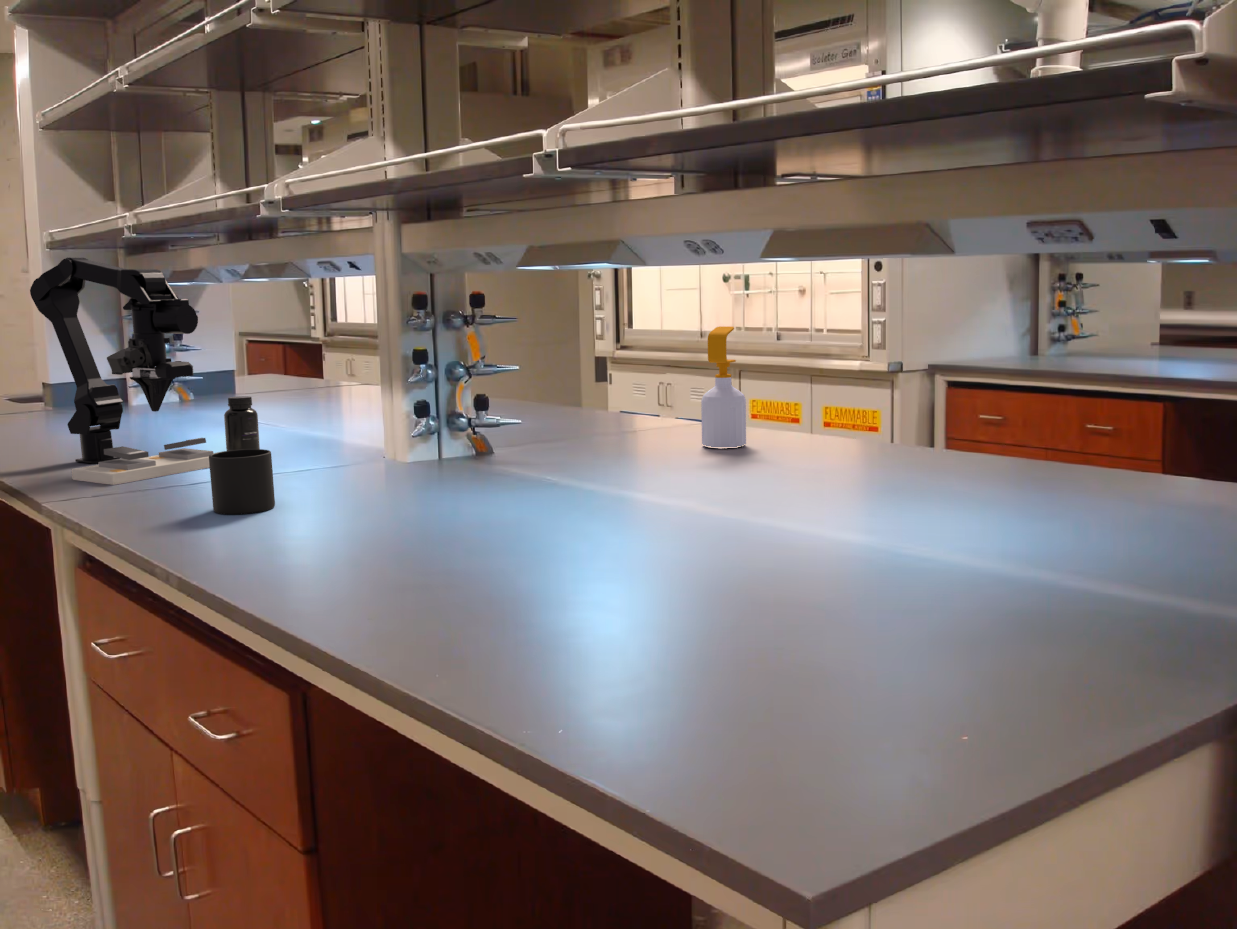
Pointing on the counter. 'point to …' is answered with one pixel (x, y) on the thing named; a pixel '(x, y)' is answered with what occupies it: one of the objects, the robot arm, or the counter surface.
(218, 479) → the mug
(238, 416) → the supplement bottle
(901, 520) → the counter surface
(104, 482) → the switch panel
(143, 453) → the rocker
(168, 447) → the rocker
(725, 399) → the soap bottle
